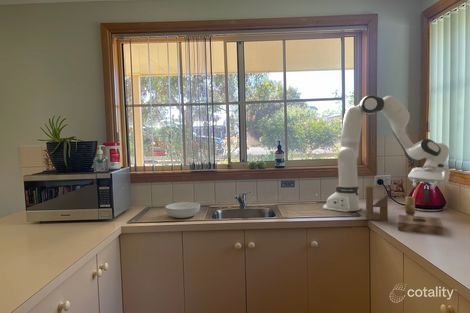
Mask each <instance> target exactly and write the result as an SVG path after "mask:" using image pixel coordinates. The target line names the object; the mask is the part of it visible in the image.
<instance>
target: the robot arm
mask: <svg viewBox="0 0 470 313" xmlns="http://www.w3.org/2000/svg"><path fill="white" fill-rule="evenodd" d="M377 112H380V113H382V115H384V117H385V118H386V119H387V120H388V122H389V124H390V126H391V131H392V133H393V135H394V137H395V139H396V140H397V142H398V144H399V145H400V146H401V148H402V151H403V152H404V155H405V157H406V158H407V159H408V160H409V161H411V162H413V163H414V162H415V163H416V162H419V161H421V160H423V159H426V160H425V162H424V164H423V166H421V167H418V166H416V167H414V168H412V169H411V170H410V172H409V173H408V175H407V178H408V179H409V181H411V182H412V187H413V188H417V186H418V184H417V182H419V183H429V184H430V185H429V189H430V190H434V189H435V188H436V187H438V186H439V184H440V185H445V184H446V185H447V184H448V182H449V179H450V174H451V171H450V169H449V167H448V166H447V165H446V164H445V163H446V161H447V159H448V156H449V154H450V149H449V147H448V146H447V145H446V144H444V143H442V142H440V143H438V142H435V140H432V139H430V138H424V139H422V140H420V141H417V142H416V143H413V142H412V141H411V139H410V137H409V136H408V135H407V133H406V127H407V125H408V124H409V122H410V117H411V115H410V112H409V111H408V109H407V108H406V107H405V105H403V104H402V102H401V101H400V100H398V99H397V98H396V97H395V96H394V95H386V96H384V97H379V96H377V95H374V94H368V95H366V96H365V97H363V98H362V99H361V100H360V102H359V103H358V105H350V106H348V107H347V108H346V110H345V113H344V116H343V122H342V126H341V127H342V129H341V134H340V146H339V150H338V152H337V154H336V155H337V156H336V157H337V170H338V185H336V186H335V192H334V193H332V194H331V195H330V196H328V198H327V200H326V203H325V204H324V205H323V206H322V209H323V210H329V211H335V212H336V211H337V212H346V213H348V212H355V211H360V210H361V209H362V208H361V205H360V201H359V200H360V199H359V195H360V194H359V193H360V192H359V191H360V190H359V188H360V187H359V186H358V183H359V182H358V181H359V180H358V157H359V149H360V142H361V141H360V140H361V135H362V134H361V133H362V127H363V120H364V117H365V116H368V115H373V114H375V113H377Z"/></svg>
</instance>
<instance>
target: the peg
mask: <svg viewBox="0 0 470 313" xmlns="http://www.w3.org/2000/svg"><path fill="white" fill-rule="evenodd" d="M415 214H416V197H414V196H405V215H408V216H415Z"/></svg>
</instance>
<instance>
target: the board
mask: <svg viewBox="0 0 470 313" xmlns="http://www.w3.org/2000/svg"><path fill="white" fill-rule="evenodd" d="M443 225H444V224H442V220H441V217H432V216H418V215H414V216H408V215H406V214H399V215H398V220H397V231H398V232H406V233H407V232H408V233H415V232H416V233H418V234H426V233H427V234H426V235H437V236H444V226H443Z"/></svg>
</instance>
